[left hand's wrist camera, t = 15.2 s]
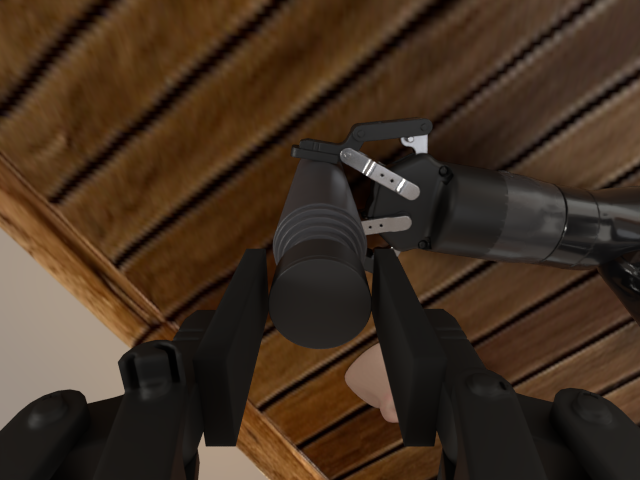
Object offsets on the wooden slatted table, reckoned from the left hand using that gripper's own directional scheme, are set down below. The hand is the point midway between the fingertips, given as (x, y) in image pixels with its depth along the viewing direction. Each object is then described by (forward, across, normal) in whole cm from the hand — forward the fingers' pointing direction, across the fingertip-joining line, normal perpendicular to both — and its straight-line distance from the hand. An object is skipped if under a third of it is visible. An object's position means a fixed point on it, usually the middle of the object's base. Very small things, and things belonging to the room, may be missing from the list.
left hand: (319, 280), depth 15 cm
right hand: (+16, -3, 0) cm, 17 cm away
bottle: (+23, 0, 0) cm, 23 cm away
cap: (-2, 0, 0) cm, 2 cm away
